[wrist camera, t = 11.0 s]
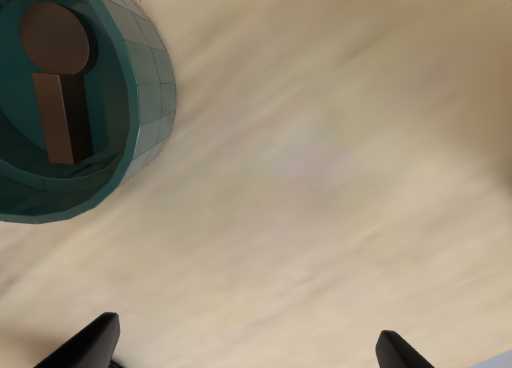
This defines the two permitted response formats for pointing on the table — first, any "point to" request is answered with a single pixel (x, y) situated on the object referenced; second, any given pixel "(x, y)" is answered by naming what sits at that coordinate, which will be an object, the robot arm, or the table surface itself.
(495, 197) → the table surface
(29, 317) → the table surface
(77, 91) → the spoon
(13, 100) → the bucket
